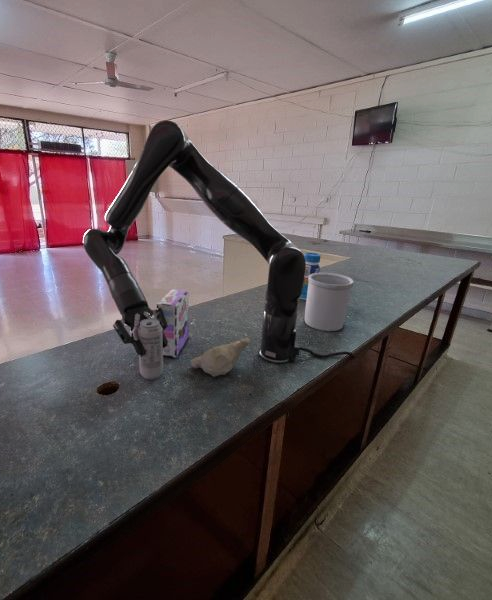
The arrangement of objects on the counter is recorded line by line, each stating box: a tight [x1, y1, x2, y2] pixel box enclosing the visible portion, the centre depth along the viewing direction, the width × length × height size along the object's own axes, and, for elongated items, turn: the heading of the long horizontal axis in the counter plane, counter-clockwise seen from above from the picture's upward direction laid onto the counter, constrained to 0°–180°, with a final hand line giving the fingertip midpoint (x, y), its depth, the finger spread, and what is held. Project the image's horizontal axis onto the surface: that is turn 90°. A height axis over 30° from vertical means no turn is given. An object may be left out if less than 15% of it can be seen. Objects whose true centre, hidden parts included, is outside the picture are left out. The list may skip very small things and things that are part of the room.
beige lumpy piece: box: [190, 337, 251, 378], centre depth 85 cm, size 15×7×15 cm
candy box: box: [156, 288, 189, 359], centre depth 95 cm, size 14×6×16 cm, turn 168°
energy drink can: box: [138, 318, 164, 380], centre depth 81 cm, size 6×6×15 cm
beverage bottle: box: [299, 252, 321, 301], centre depth 140 cm, size 8×8×20 cm
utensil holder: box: [304, 272, 354, 332], centre depth 114 cm, size 15×15×18 cm
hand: (154, 350), depth 80 cm, fingers closed on energy drink can, 6 cm apart
